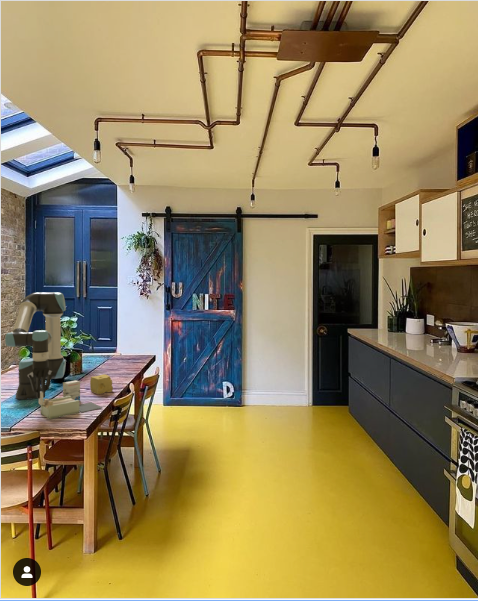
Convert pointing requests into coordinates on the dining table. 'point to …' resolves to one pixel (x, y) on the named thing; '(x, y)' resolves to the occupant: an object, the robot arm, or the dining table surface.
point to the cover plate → (55, 402)
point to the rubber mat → (88, 407)
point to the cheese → (101, 384)
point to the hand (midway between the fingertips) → (40, 403)
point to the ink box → (72, 389)
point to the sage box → (60, 408)
